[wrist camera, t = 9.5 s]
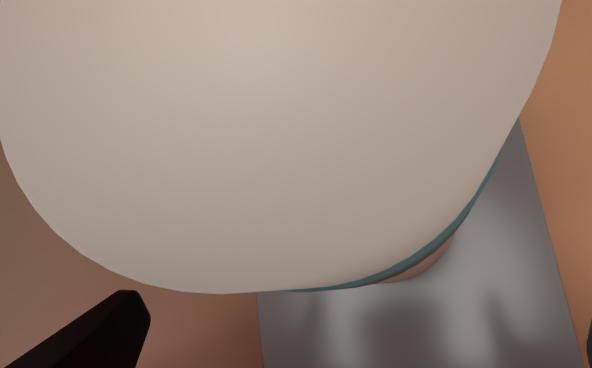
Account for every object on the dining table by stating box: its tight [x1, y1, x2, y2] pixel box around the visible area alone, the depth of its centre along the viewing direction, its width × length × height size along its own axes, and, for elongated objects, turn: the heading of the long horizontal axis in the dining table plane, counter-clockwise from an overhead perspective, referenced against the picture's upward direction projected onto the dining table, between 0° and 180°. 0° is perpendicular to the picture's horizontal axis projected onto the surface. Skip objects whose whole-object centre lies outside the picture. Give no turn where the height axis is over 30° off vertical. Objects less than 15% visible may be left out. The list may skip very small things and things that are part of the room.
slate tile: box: [256, 118, 584, 368], centre depth 18 cm, size 13×11×1 cm
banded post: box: [0, 0, 562, 294], centre depth 11 cm, size 6×6×14 cm
